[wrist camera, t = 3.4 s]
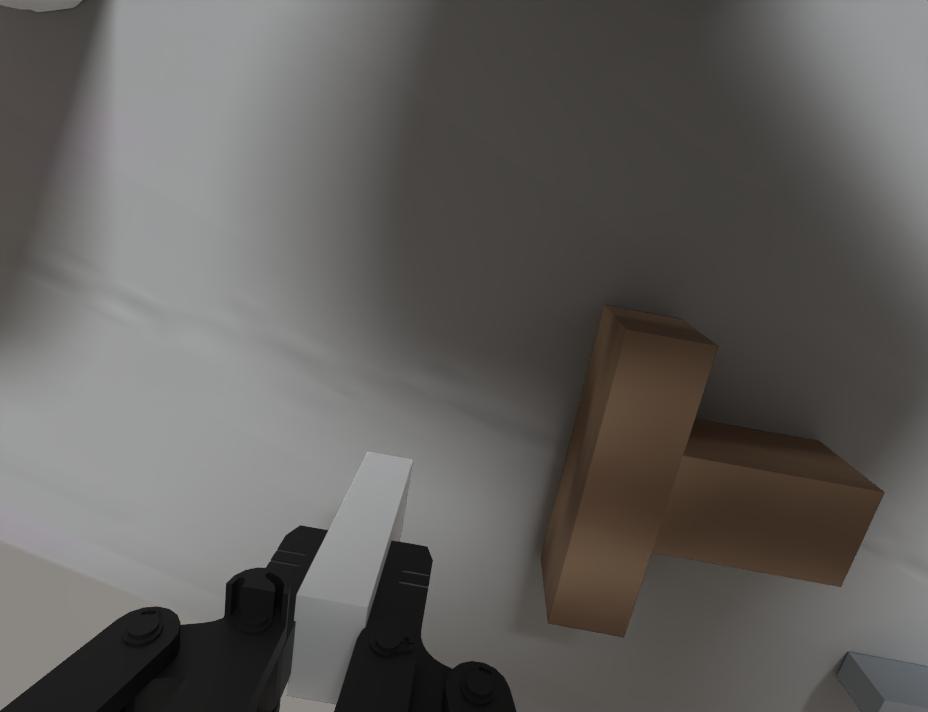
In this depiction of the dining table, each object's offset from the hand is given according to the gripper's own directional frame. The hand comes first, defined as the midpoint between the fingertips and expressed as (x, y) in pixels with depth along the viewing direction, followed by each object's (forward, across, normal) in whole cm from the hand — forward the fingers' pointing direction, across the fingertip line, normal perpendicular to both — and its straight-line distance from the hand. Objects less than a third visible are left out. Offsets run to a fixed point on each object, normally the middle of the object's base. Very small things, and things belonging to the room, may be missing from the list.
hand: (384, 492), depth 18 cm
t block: (+6, +11, 0) cm, 13 cm away
